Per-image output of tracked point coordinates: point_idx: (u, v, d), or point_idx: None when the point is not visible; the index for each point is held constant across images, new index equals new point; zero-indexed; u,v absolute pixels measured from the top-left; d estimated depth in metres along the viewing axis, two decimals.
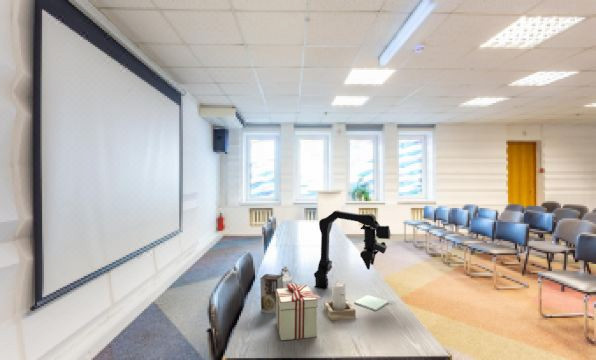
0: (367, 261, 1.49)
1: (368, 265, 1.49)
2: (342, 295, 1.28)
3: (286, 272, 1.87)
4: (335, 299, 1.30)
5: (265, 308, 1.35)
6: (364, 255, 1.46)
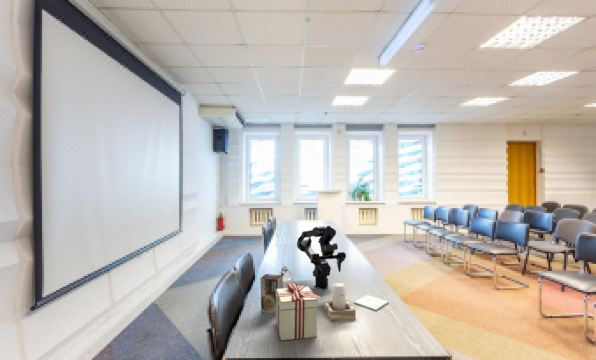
0: (319, 265, 1.52)
1: (320, 268, 1.50)
2: (342, 295, 1.28)
3: (286, 272, 1.88)
4: (335, 299, 1.30)
5: (265, 308, 1.35)
6: (311, 259, 1.55)
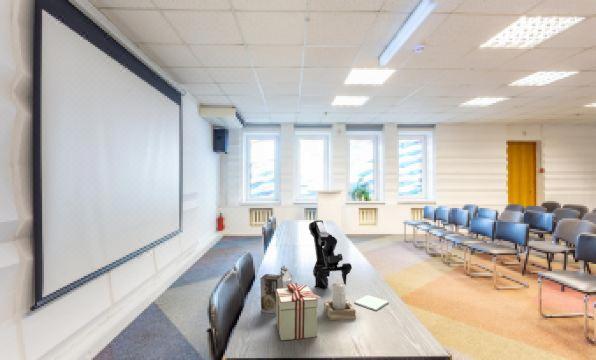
0: (322, 278, 1.39)
1: (324, 281, 1.37)
2: (342, 295, 1.28)
3: (286, 271, 1.89)
4: (335, 299, 1.30)
5: (265, 308, 1.35)
6: (313, 271, 1.42)
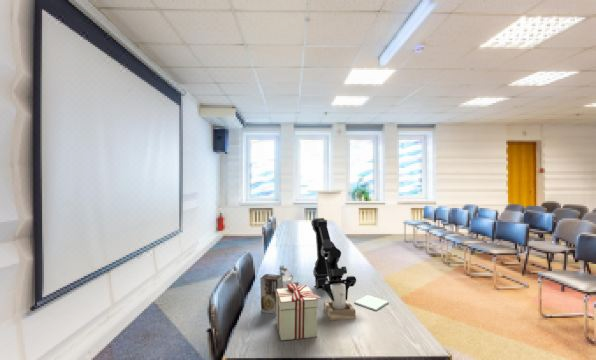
0: (328, 291, 1.34)
1: (330, 295, 1.32)
2: (342, 295, 1.28)
3: (286, 271, 1.89)
4: (335, 299, 1.30)
5: (265, 308, 1.35)
6: (316, 285, 1.36)
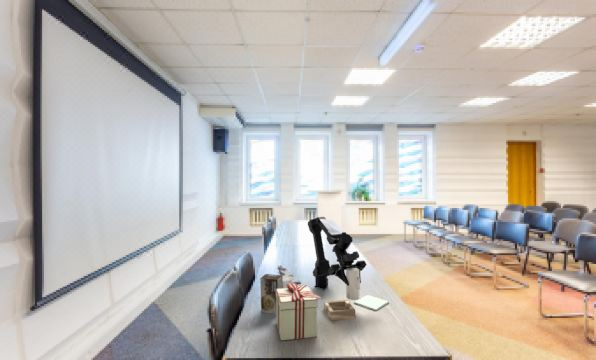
0: (342, 277, 1.35)
1: (345, 280, 1.34)
2: (359, 279, 1.30)
3: (285, 271, 1.90)
4: (351, 283, 1.32)
5: (265, 308, 1.35)
6: (329, 271, 1.36)
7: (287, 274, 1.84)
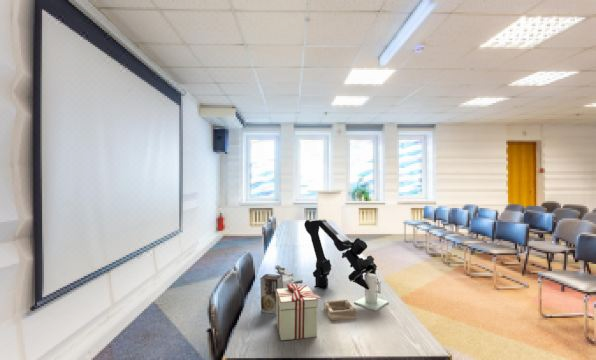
0: (361, 282, 1.40)
1: (365, 285, 1.39)
2: (380, 283, 1.39)
3: (285, 270, 1.91)
4: (372, 288, 1.40)
5: (265, 308, 1.35)
6: (351, 277, 1.40)
7: (287, 273, 1.85)
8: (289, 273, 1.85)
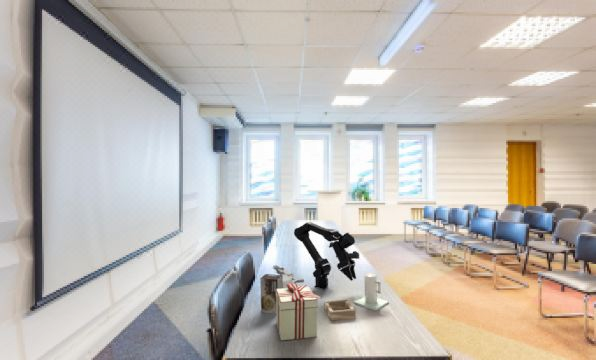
0: (347, 272, 1.47)
1: (350, 276, 1.47)
2: (380, 283, 1.39)
3: (284, 270, 1.92)
4: (372, 288, 1.40)
5: (265, 308, 1.35)
6: (341, 265, 1.46)
7: (287, 273, 1.86)
8: (289, 273, 1.86)
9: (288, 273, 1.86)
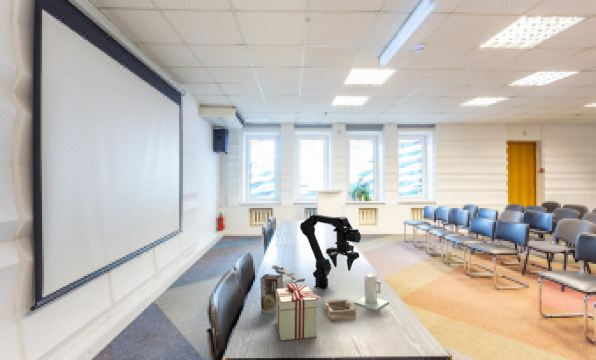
0: (350, 262, 1.53)
1: (350, 266, 1.53)
2: (380, 283, 1.39)
3: (284, 270, 1.93)
4: (372, 288, 1.40)
5: (265, 308, 1.35)
6: (355, 257, 1.50)
7: (288, 272, 1.87)
8: (289, 272, 1.87)
9: (288, 273, 1.87)
